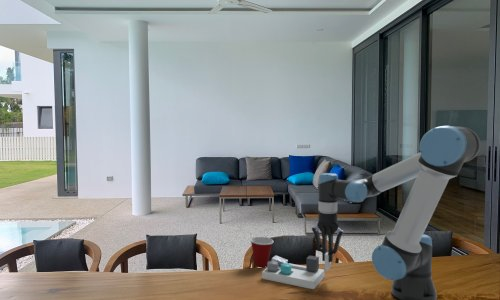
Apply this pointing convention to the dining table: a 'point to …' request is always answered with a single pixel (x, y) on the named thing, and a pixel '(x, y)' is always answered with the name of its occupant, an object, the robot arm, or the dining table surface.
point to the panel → (296, 276)
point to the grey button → (272, 266)
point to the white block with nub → (279, 260)
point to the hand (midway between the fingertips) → (327, 269)
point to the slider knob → (312, 263)
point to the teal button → (285, 269)
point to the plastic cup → (261, 250)
